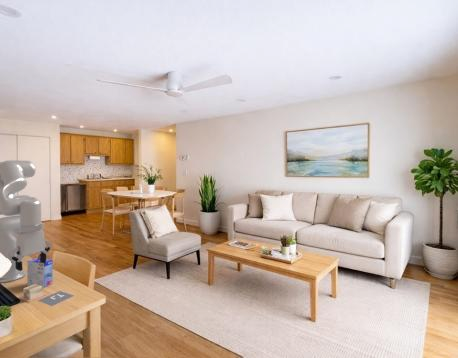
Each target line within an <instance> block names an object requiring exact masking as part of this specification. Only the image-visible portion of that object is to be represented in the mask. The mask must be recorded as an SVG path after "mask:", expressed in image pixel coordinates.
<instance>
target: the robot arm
mask: <svg viewBox="0 0 458 358" xmlns="http://www.w3.org/2000/svg"><path fill="white" fill-rule="evenodd" d="M36 170H37V169H36V166H35V164H34V163H33V162H32V161H30V160H13V159H11V160H5V161H0V216H1V215H2V216H4V217H0V252H1V253H2V254H3V255H4V256H5V257H6V258H8V259H9V260H10V261H11V263H12V266H11V268H10V270H9V271H8V272H7V273H6V274H5V275H4V276H3V277H2V278H0V283H8V282H13V281H17V280H19V279H22V278H23V277H25V276H27V275H26V273H27V271H25V270H23V259H24V258H25V257H26V256H27V257H28V256H31V255H34V254H37V253H40V262H42V263H46V259H47V254H48V253H49V251H50V250H51V247H52V245H53V243H52V242H50V241H46V238H45V234H44V233H45V231H44V230H43V228H42V227H45V223H42V202H41V200H39V199H38V198H37V197H33V196H29V195H27V194H22V195H15V194H17V193H18V192H20V191H21V192H22V191H23V190H24V189H26V187H27V185H28V181H27V179H26V178H28V179H29V178H33V177H34V176H35V175H36Z"/></svg>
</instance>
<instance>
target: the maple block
mask: <svg viewBox="0 0 458 358" xmlns="http://www.w3.org/2000/svg"><path fill="white" fill-rule="evenodd" d="M22 292H23V296H24V298H27V299H30V300H31V299H34V298H36V297H39V296H41V295H42V293H43V288H42V286H40V285H37V284H34V285H31V286H27V287H24V288H23V291H22ZM23 296H22V297H23Z"/></svg>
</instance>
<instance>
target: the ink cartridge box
mask: <svg viewBox="0 0 458 358" xmlns="http://www.w3.org/2000/svg"><path fill="white" fill-rule="evenodd" d="M40 254H41V253H40ZM40 254H38V257H36V258H32V259H30V260H28V261H27V262H26V263H27V264H26V265H27V271H26V273H27V275H26V276H27V279H26V280H27V282H26V283H27V287H29V286H31V285H34V284H37V285H40V286H42V289H44V288H46V287H48V286H50V285H52V284H53V282H54V281H53V280H54V277H53V274H54V273H53V266H54V265H53V264H54V263H53V262H54V261H53V259H51V258H46V263H42V262H40Z"/></svg>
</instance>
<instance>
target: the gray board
mask: <svg viewBox="0 0 458 358" xmlns="http://www.w3.org/2000/svg"><path fill="white" fill-rule="evenodd" d="M73 297H75V295H74V294H70V293H67V292H64V291H61V290H60V291H57V292H55V293H51V294H49V295H46V296H44V297H41V298H39V299H37V301H38V302H40V303H43V304H45V305H47V306H51V307H53V306H56V305H58V304H60V303H61V302H64V301H66V300H68V299H70V298H73Z"/></svg>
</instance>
